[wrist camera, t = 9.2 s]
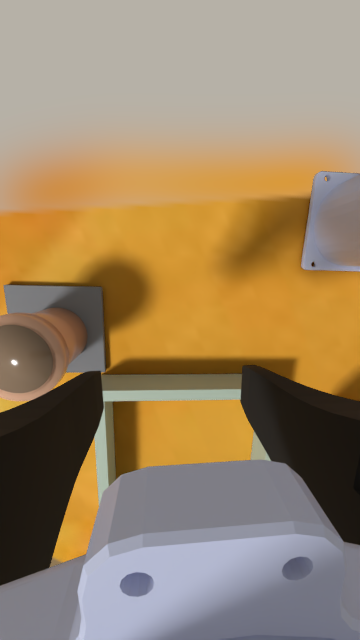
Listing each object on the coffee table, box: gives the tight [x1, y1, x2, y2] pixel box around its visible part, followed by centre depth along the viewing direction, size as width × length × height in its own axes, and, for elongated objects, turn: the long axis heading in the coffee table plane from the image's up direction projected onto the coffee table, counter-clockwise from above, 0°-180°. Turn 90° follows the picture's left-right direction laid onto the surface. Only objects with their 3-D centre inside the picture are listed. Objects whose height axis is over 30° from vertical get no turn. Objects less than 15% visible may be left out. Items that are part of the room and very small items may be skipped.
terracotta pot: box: [0, 307, 87, 401], centre depth 17 cm, size 6×6×6 cm
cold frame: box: [95, 374, 271, 505], centre depth 22 cm, size 17×17×5 cm
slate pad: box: [4, 285, 106, 372], centre depth 21 cm, size 8×8×1 cm
